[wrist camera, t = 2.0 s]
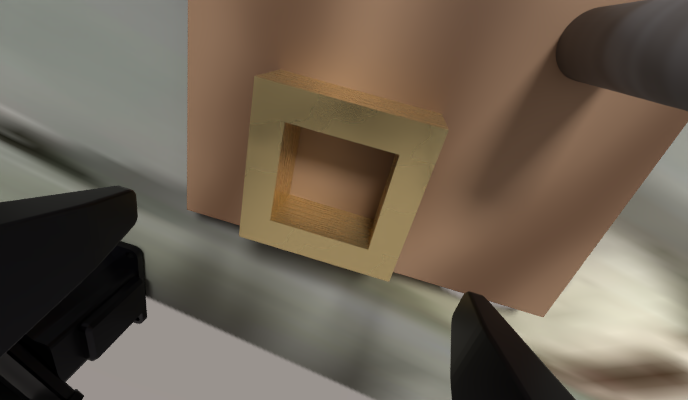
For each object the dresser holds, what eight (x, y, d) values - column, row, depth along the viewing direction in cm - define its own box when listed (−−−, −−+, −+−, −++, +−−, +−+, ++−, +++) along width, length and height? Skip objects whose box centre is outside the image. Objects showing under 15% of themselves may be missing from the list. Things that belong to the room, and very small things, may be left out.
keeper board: (203, 196, 18) (82, 291, 11) (214, -156, 11) (-61, -426, 5) (532, 295, 17) (611, 461, 10) (752, -26, 10) (1353, -132, 4)
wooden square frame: (261, 209, 16) (238, 236, 14) (280, 69, 13) (254, 76, 11) (391, 248, 15) (389, 281, 13) (441, 113, 12) (448, 129, 10)
